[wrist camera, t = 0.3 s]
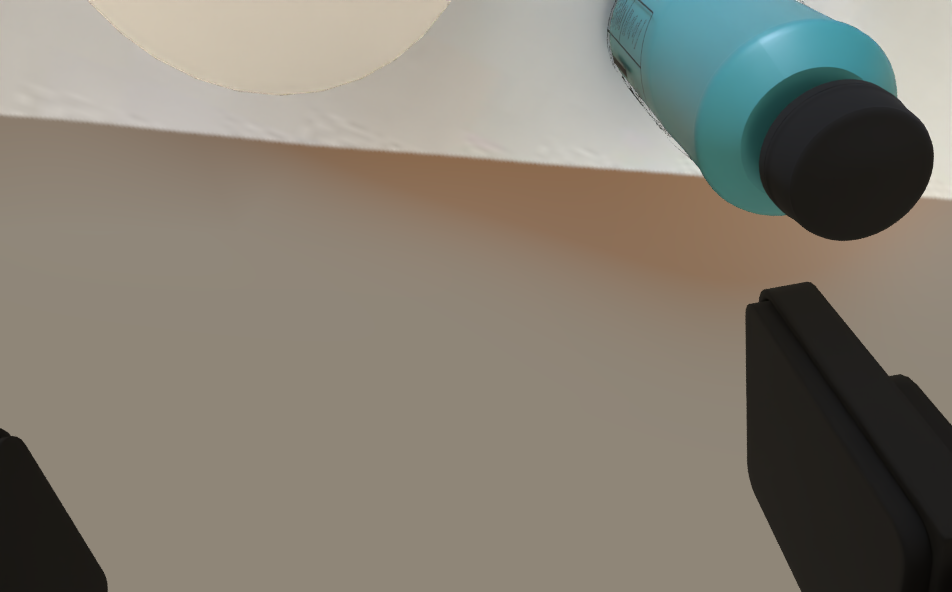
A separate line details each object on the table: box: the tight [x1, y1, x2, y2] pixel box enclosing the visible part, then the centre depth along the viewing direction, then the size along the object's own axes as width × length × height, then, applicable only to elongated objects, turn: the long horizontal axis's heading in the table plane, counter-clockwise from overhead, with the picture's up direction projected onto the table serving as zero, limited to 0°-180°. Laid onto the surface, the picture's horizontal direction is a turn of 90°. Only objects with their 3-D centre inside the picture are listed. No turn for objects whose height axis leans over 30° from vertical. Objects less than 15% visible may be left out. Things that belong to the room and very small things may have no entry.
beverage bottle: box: [607, 0, 934, 241], centre depth 30 cm, size 6×7×20 cm
